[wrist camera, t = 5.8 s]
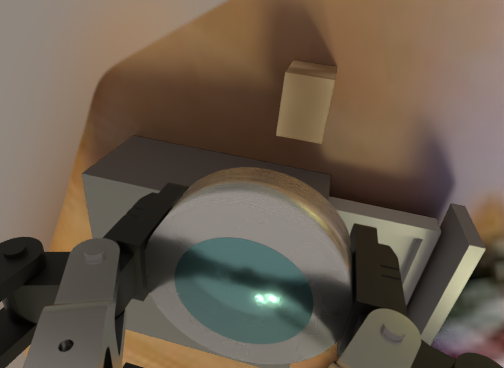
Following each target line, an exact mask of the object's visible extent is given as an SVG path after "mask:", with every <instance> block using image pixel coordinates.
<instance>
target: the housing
mask: <svg viewBox="0 0 504 368" xmlns="http://www.w3.org/2000/svg"><path fill="white" fill-rule="evenodd" d="M239 167H256V168H262V169H269V170H273V171H277V172H280V173H284V174H286V175H289V176H291V177H294V178H296V179H298V180H300V181H302V182H304V183H305V184H307V185H309V186H310V187H312V188H313V189H315V190H316V191H317V192H319V193H320V194H321V195H322V196H323V197H324V198H326V199H327V200H329V190H330V180H331V175H329V174H324V173H319V172H314V171H309V170H304V169H299V168H294V167H289V166H284V165H279V164H274V163H269V162H264V161H259V160H254V159H249V158H244V157H239V156H234V155H229V154H224V153H219V152H214V151H209V150H204V149H199V148H194V147H189V146H184V145H179V144H174V143H169V142H164V141H158V140H153V139H148V138H143V137H138V136H132V137H131V138H129V139H128V140H127V141H125V142H124V143H122V144H121V145H120V146H118V147H117V148H116V149H114V150H113V151H112V152H110V153H109V154H108V155H106V156H105V157H104V158H102V159H101V160H99V161H98V162H97V163H95V164H94V165H93V166H91V167H90V168H89V169H87V170H86V171H85V172H83V173H82V178H83V184H84V190H85V196H86V202H87V208H88V214H89V220H90V226H91V232H92V238H93V239H94V238H103V237H104V236H105V235H106V234H107V233H108V231H109V230H110V229H111V228H112V227H113V226H114V225H115V224H116V223H117V222H118V221H119V220H120V219H121V218H122V217H123V216H124V215H126V213H127V212H128V211H129V210H130V208H132V206H133V205H134V204H135V203H136V202H137V201H138V200H139V199H140V198H142V197H144V196H146V195H148V194H150V193H152V192H154V193H159V192H160V191H161V190H162V189H163V188H164V186H165V185H166V184H167V183H169V182H171V183H176V184H180V185H185V186H189V187H190V186H192V185H193V184H194V183H195V182H197V181H198V180H200V179H201V178H203V177H205V176H207V175H209V174H212V173H214V172H217V171H221V170H225V169H229V168H239ZM126 309H127V316H126V326H125V329H127V330H131V331H134V332H138V333H141V334H145V335H148V336H152V337H155V338H159V339H162V340H166V341H169V342H173V343H176V344H180V345H183V346H187V347H190V348H194V349H197V350H201V351H204V352H208V353H211V354H215V355H218V356H222V357H225V358H229V359H232V360H236V361H239V362H243V363H246V364H250V365H253V366H257V367H260V368H289V366H290V363H288V364H258V363H251V362H245V361H241V360H237V359H233V358H230V357H227V356H224V355H222V354H219V353H217V352H214V351H212V350H210V349H208V348H206V347H204V346H202V345H200V344H199V343H197V342H195V341H194V340H192V339H191V338H189V337H188V336H186V335H185V334H184V333H182V332H181V331H180V330H179V329H178V328H176V327H175V326H174V325H173V324H172V323H171V322H170V321H169V320H168V319H167V318H166V317H165V316H164V314H163V313H162V312H161V310H160V309H159V308H158V307H157V305H156V303H155V302H154V300H153V298H152V296H151V294H150V292H149V294H148V295H147V297H146V299H145V300H144V302H143V301H139V300H136V299H131V301H130V302H129V304H128V305H127V307H126Z"/></svg>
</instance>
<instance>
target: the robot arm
mask: <svg viewBox="0 0 504 368" xmlns="http://www.w3.org/2000/svg"><path fill="white" fill-rule="evenodd" d="M188 188H189V186H185V185H180V184H176V183H171V182H169V183H167V184H166V185H165V186H164V188H163V189H162V190H161V191H160V192H159V193H154V192H152V193H150V194H148V195H146V196H144V197H142V198H140V199H139V200H138V201H137V202H136V203H135V204H134V205H133V206H132V208H130V210H129V211H128V212H127V213H126V215H124V216H123V217H122V218H121V219H120V220H119V221H118V222H117V223H116V224H115V225H114V226H113V227H112V228H111V229H110V230H109V231H108V233H107V234H106V235H105V236H104V237H103V238H94V239H90V240H86V241H84V242H82V243H80V244H78V245H77V246H75V247H74V248H73V249H72V251H71V252H44V249H43V245H42V243H41V242H40V241H39V240H37V239H35V238H31V237H18V238H13V239H10V240H7V241H4V242H2V243H0V302H1V301H2V302H3V304H4V308H2V309H1V310H0V368H5V367H7V366H8V365H9V364H10V363H11V362H12V361H13V360H14V359H15V358H16V357H17V356H18V355H19V354H21V353H22V351H24V350H25V349H26V348H27V347H28V346H29V345H30V344H31V345H30V348H29V351H28V354H27V357H26V360H25V363H24V366H23V368H122V357H123V347H124V336H125V326H126V316H127V309H126V307H127V305H128V304H129V302H130V301H131V299H136V300H139V301H143V302H144V300H145V299H146V297H147V295H148V294H149V290H148V288H147V279H146V265H145V248H146V246H147V243H148V241H149V239H150V237H151V236H152V234H153V233H154V231H155V230H156V229H157V227H158V226H159V225H160V223H161V222H162V221H163V220H164V218H165V217H166V216H167V214H168V213H169V212H170V210H171V209H172V208H173V207H174V205H175V204H176V203H177V201H178V200H179V199H180V198H181V196H182V195H183V194H184V193H185V192H186V190H187V189H188ZM350 239H351V243H352V252H353V304H352V307H351V310H350V313H349V316H348V318H347V321H346V324H345V327H344V330H343V332H342V335H341V338H340V339H339V340H338V342H337V356H341V357H340V358H339V360H338V361H337V362H335V361H334V362H333V363H332V364H331V365H330V366H329V368H503V367H502V366H500V365H499V364H498V363H496V362H495V361H493V360H491V359H490V358H488V357H485V356H483V355H480V354H476V353H464V354H461V355H460V356H459V357H458V358H457V359H454V358H452V357H450V356H448V355H446V354H444V353H443V352H441V351H439V350H437V349H435V348H433V347H432V346H430V345H429V344H427V343H426V342H424V341H423V340H422V339H421V335H420V333H419V331H418V329H417V327H416V326H415V325H414V323H413V322H412V321H411V320H410V319H408V315H407V309H406V303H405V297H404V291H403V285H402V281H401V273H400V267H399V261H398V257H397V255H396V254H395V253H394V251H393V250H392V248H391V247H390V246H388V245H384V244H380V243H378V235H377V228H375V227H371V226H366V225H361V224H357V223H354V224H353V227H352V230H351V233H350ZM123 368H143V367H140V366H136V365H133V364H130V363H127V362H126V363H125V365H124V366H123Z"/></svg>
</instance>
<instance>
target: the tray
mask: <svg viewBox="0 0 504 368" xmlns="http://www.w3.org/2000/svg"><path fill="white" fill-rule="evenodd" d="M328 201H329V202H330V203H331V205H332V206H333V207H334V208H335V209H336V210H337V212H338V213H339V215H340V216H341V218H342V219H343V221H344V223H345V225H346V227H347V230H348V232H349V235H350V233H351V230H352V227H353V224H354V223H357V224H361V225H366V226H371V227H375V228H377V235H378V243H380V244H384V245H388V246H390V247H391V248H392V250H393V251H394V253H395V254H396V255H397V257H398V261H399V267H400V273H401V281H402V285H403V291H404V297H405V303H406V309H407V315H408V319H410V320H411V321H412V322H413V323H414V325H415V326H416V327H417V329H418V331H419V333H420V335H421V339H422V340H423V341H424V342H426V343H427V344H429V345H431V343H432V342H433V340H434V338H435V336H436V335H437V333H438V331H439V330H440V328H441V326H442V324H443V323H444V321H445V319H446V317H447V316H448V314H449V312H450V310H451V309H452V307H453V305H454V303H455V302H456V300H457V298H458V296H459V295H460V293H461V291H462V290H463V288H464V286H465V284H466V283H467V281H468V279H469V277H470V276H471V274H472V272H473V270H474V269H475V267H476V265H477V263H478V262H479V260H480V258H481V256H482V255H483V253H484V251H485V250H486V248H485V246H484V244H483V242H482V240H481V238H480V236H479V234H478V232H477V230H476V228H475V226H474V224H473V222H472V220H471V218H470V216H469V214H468V212H467V210H466V208H465V206H462V205H457V204H452V203H451V204H450V207H449V209H448V211H447V213H446V215H445V217H444V219H443V222H442V224H441V226H440V227H439V224H438V221H437V219H436V218H431V217H426V216H422V215H417V214H412V213H407V212H402V211H398V210H393V209H388V208H383V207H378V206H374V205H369V204H364V203H359V202H354V201H350V200H345V199H340V198H335V197H330V196H329V200H328Z"/></svg>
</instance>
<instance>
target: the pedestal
mask: <svg viewBox="0 0 504 368" xmlns="http://www.w3.org/2000/svg"><path fill="white" fill-rule="evenodd" d="M336 72H337V67H336V66H330V65H323V64H317V63H310V62H304V61H297V60H293V61H292V63H291V64H290V66H289V67H288V69H287V70H286V72H285V77H284V84H283V91H282V98H281V104H280V111H279V118H278V125H277V132H276V136H281V137H287V138H292V139H297V140H303V141H308V142H313V143H319V144H321V143H322V139H323V134H324V130H325V125H326V121H327V116H328V112H329V107H330V102H331V98H332V93H333V89H334V84H335V79H336Z"/></svg>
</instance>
